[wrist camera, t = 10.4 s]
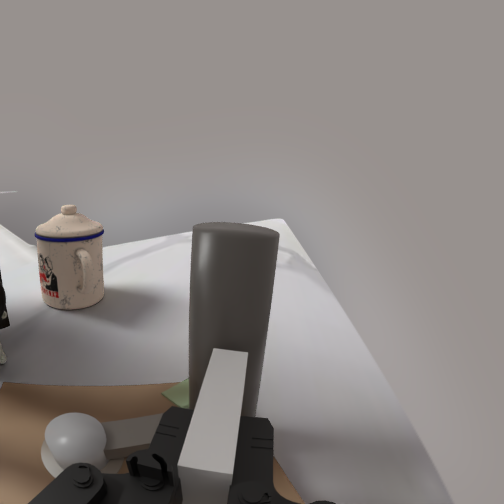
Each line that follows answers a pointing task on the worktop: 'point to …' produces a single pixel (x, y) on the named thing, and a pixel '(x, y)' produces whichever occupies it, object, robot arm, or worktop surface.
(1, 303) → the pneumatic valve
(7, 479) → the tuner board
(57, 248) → the teacup with lid
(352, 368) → the worktop surface
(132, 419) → the peg lever
